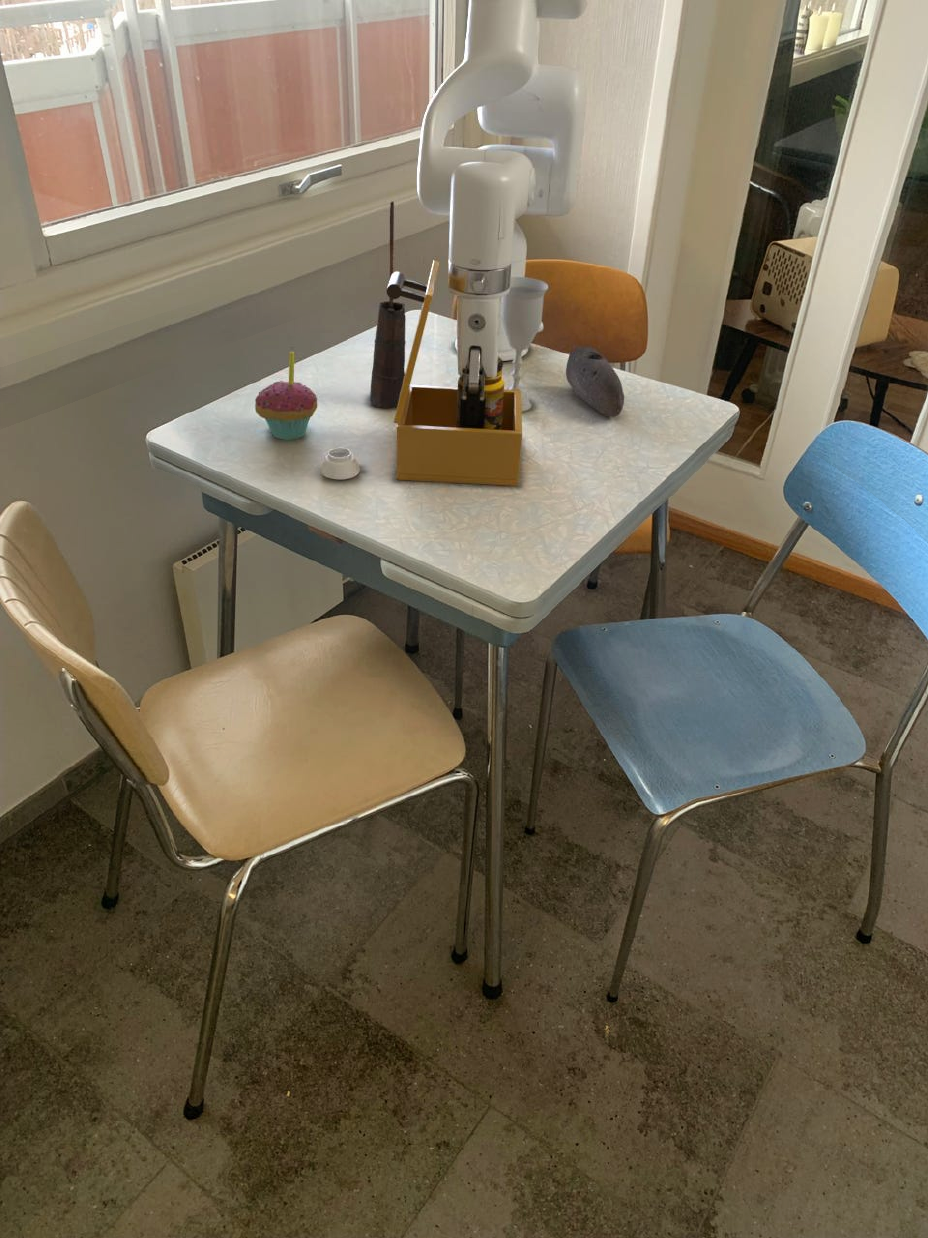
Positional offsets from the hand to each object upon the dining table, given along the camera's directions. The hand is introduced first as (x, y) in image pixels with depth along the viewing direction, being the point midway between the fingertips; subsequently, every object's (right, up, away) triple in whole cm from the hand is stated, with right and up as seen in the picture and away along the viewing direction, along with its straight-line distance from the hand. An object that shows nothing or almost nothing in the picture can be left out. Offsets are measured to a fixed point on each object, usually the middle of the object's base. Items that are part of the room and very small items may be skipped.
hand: (472, 414), depth 121 cm
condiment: (0, -3, +3) cm, 4 cm away
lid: (-7, +8, -6) cm, 12 cm away
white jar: (-17, -8, -1) cm, 19 cm away
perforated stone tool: (+19, +6, +20) cm, 28 cm away
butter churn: (-13, +5, +17) cm, 22 cm away
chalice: (+7, +6, +19) cm, 21 cm away
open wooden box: (-2, -5, +4) cm, 7 cm away
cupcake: (-26, -1, +8) cm, 27 cm away
